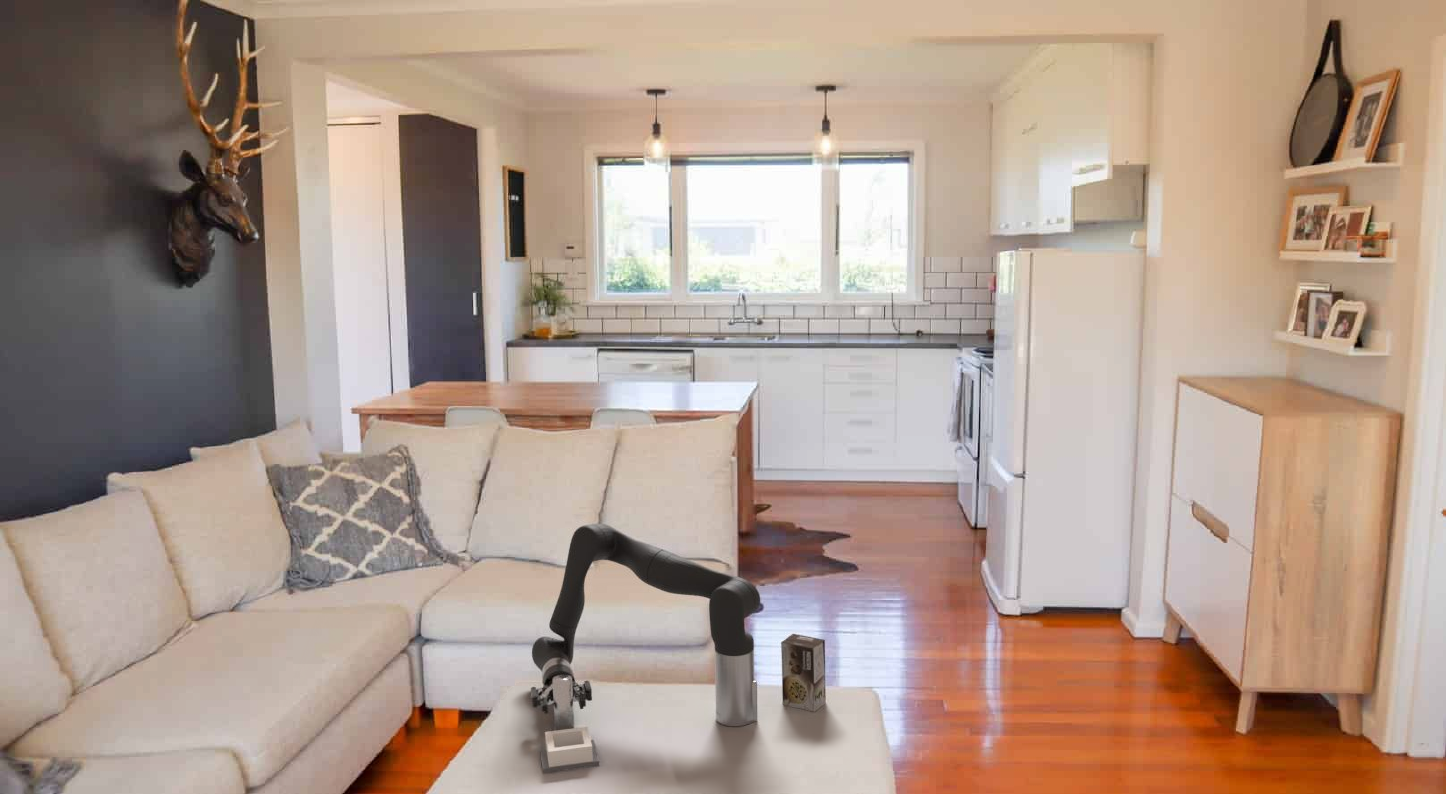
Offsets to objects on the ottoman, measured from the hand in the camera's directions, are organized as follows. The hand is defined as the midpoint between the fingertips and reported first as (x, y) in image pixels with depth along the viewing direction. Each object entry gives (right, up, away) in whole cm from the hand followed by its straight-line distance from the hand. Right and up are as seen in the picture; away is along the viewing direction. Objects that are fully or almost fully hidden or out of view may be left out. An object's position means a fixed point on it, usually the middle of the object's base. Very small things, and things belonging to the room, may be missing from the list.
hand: (564, 707), depth 232 cm
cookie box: (+56, -5, +18) cm, 59 cm away
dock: (+2, -9, -7) cm, 12 cm away
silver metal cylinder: (0, -8, +3) cm, 8 cm away
